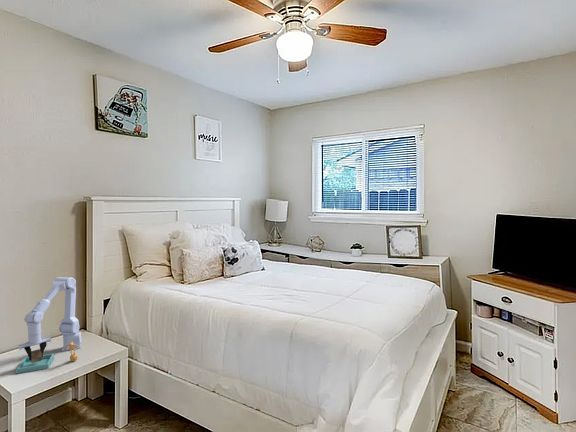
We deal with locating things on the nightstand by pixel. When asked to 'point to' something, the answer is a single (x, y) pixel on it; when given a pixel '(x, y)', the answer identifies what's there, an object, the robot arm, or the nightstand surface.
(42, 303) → the robot arm
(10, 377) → the nightstand surface
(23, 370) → the teal tray
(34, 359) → the walnut block
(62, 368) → the nightstand surface
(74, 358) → the figurine
